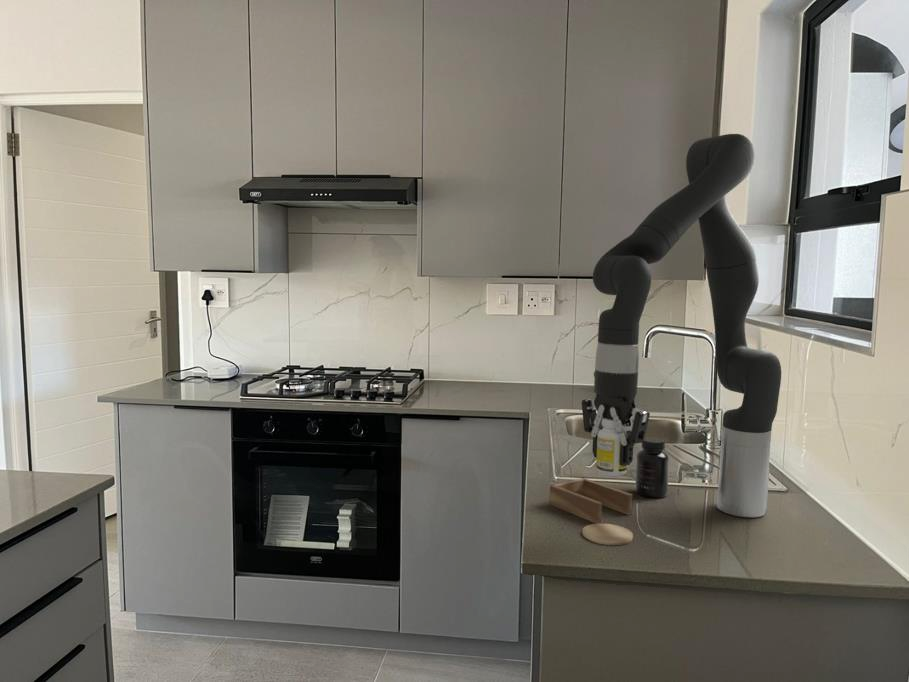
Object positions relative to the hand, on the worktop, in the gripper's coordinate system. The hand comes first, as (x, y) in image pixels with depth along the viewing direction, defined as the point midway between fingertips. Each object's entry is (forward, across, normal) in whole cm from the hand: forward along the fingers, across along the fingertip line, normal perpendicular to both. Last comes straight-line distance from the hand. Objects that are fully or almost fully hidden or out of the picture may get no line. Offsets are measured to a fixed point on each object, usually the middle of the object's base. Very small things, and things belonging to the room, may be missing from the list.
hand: (611, 460), depth 128 cm
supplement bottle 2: (+14, +11, -27) cm, 32 cm away
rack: (+14, +12, -8) cm, 20 cm away
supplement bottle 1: (+2, 0, 0) cm, 2 cm away
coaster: (+14, 0, 0) cm, 14 cm away
